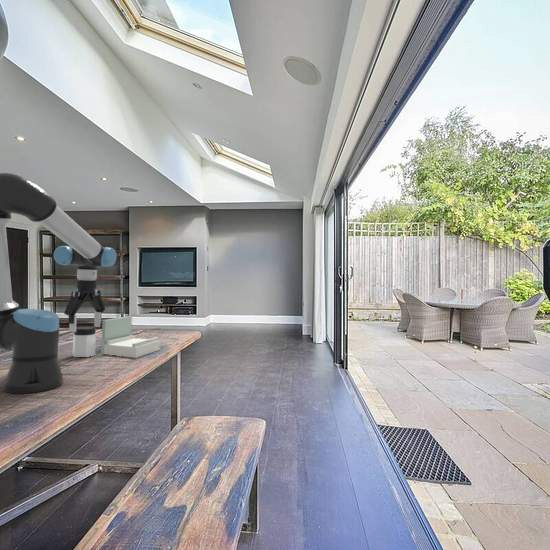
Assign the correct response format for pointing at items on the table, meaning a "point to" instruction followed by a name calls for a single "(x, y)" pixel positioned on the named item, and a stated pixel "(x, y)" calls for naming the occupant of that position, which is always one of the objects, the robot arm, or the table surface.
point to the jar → (84, 342)
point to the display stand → (125, 339)
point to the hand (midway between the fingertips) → (85, 329)
